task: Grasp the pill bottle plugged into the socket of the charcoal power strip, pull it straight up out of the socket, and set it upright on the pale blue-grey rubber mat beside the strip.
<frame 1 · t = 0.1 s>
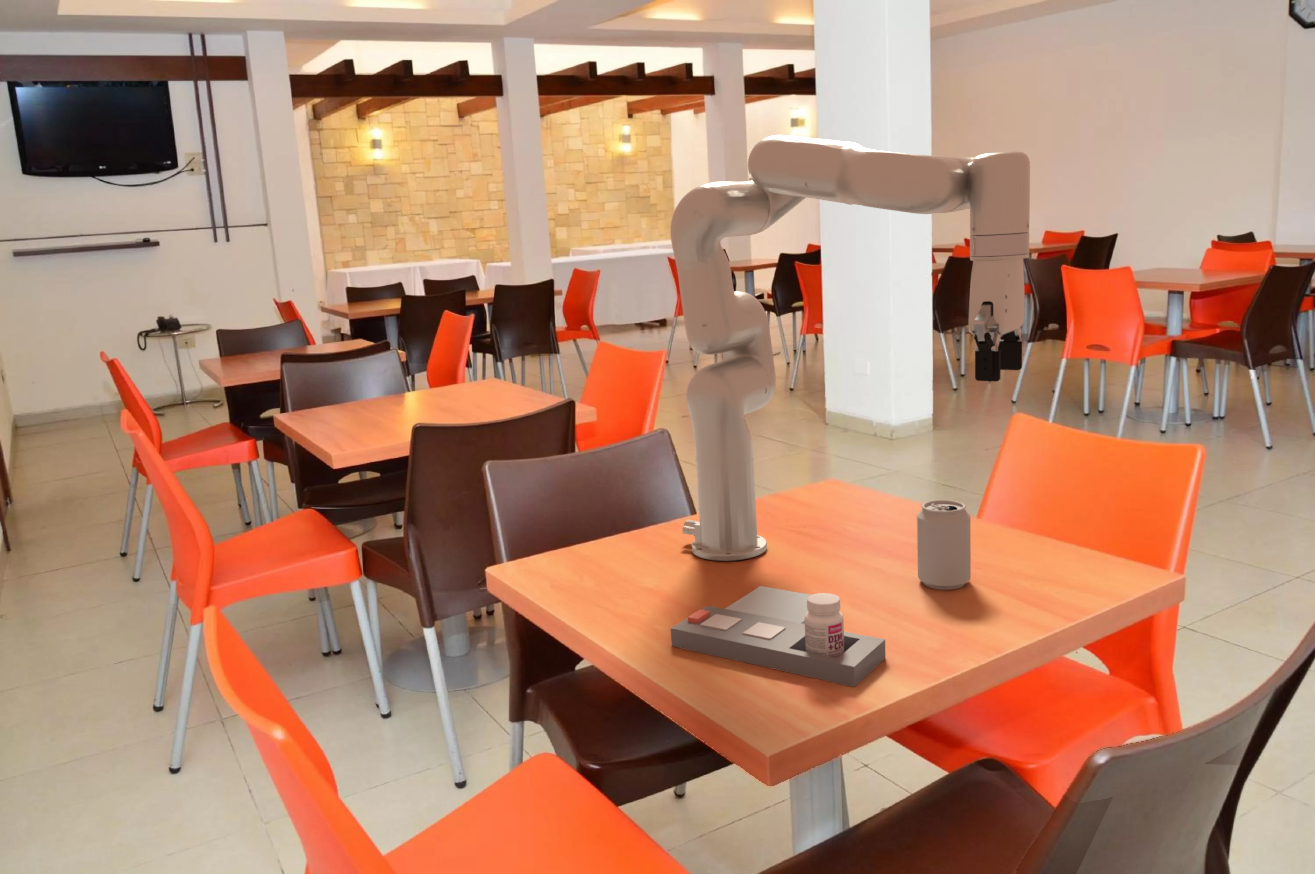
hand: (999, 375, 142), 31 cm above the table, fingers open, 9 cm apart
can: (944, 583, 153), on the table
pill bottle: (825, 664, 128), resting in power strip
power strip: (775, 651, 132), on the table
mat: (776, 609, 147), on the table
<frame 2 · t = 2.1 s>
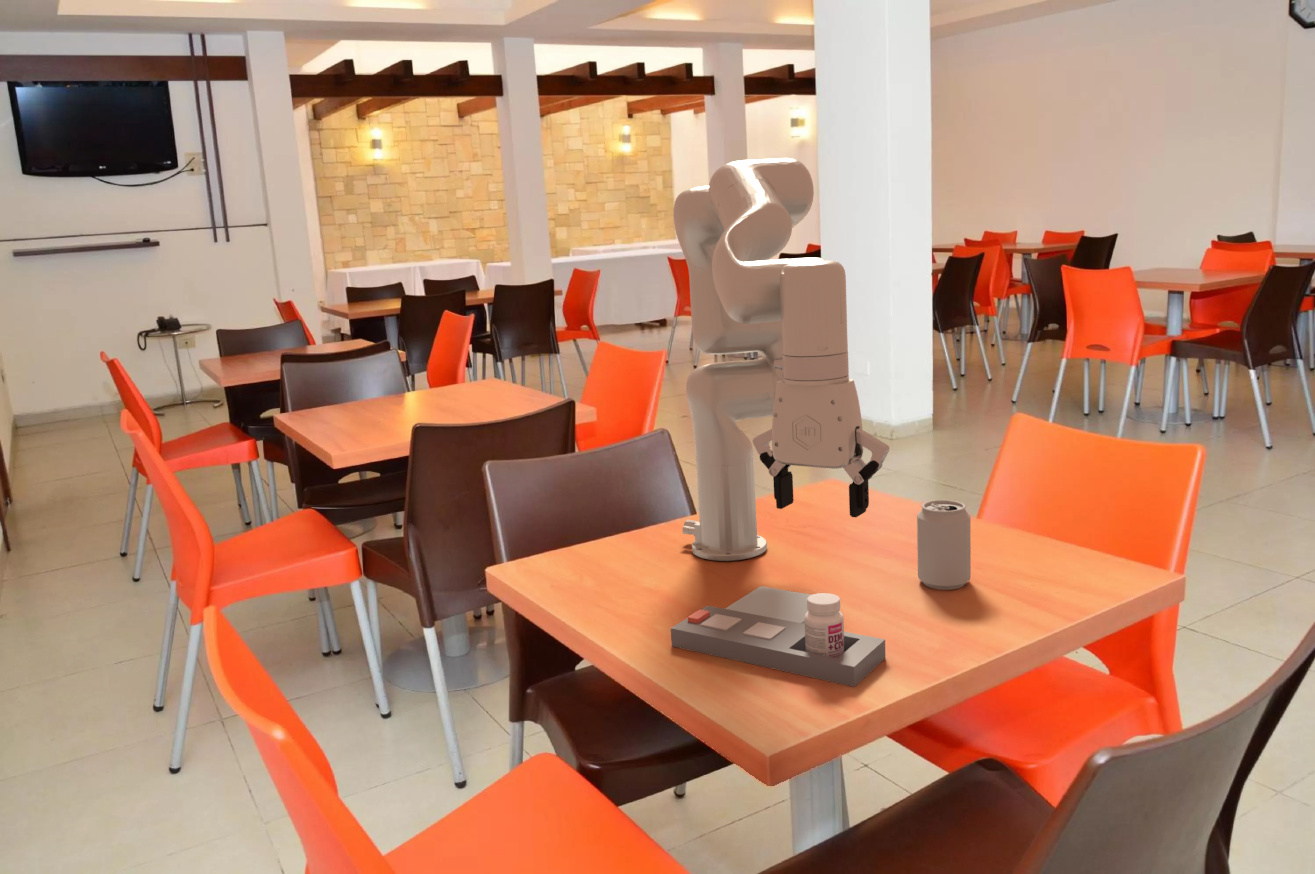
hand: (820, 510, 124), 20 cm above the table, fingers open, 9 cm apart
nothing on the table moved.
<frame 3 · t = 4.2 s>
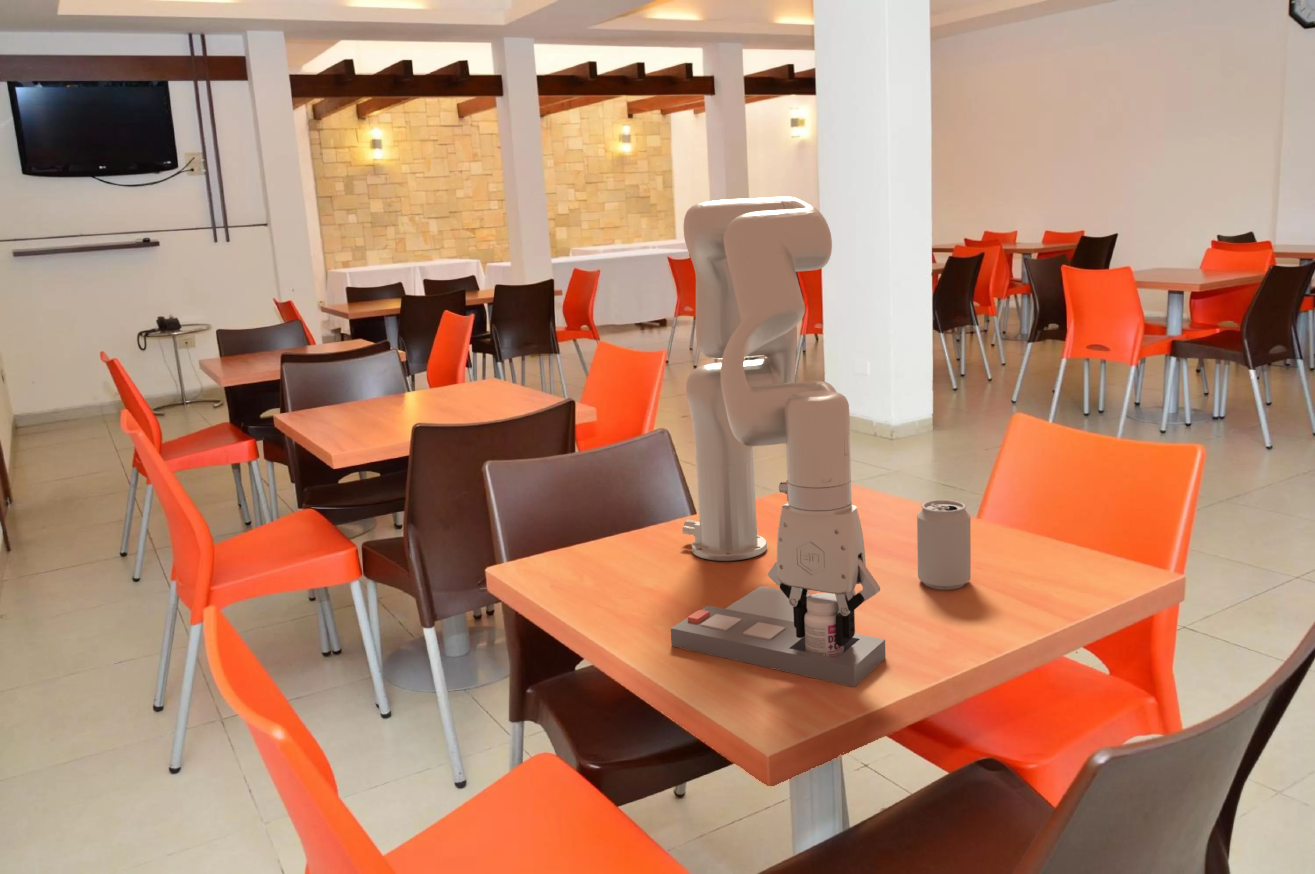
hand: (824, 636, 127), 3 cm above the table, fingers closed on pill bottle, 4 cm apart
pill bottle: (825, 664, 128), resting in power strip, touching gripper
everything else where it was.
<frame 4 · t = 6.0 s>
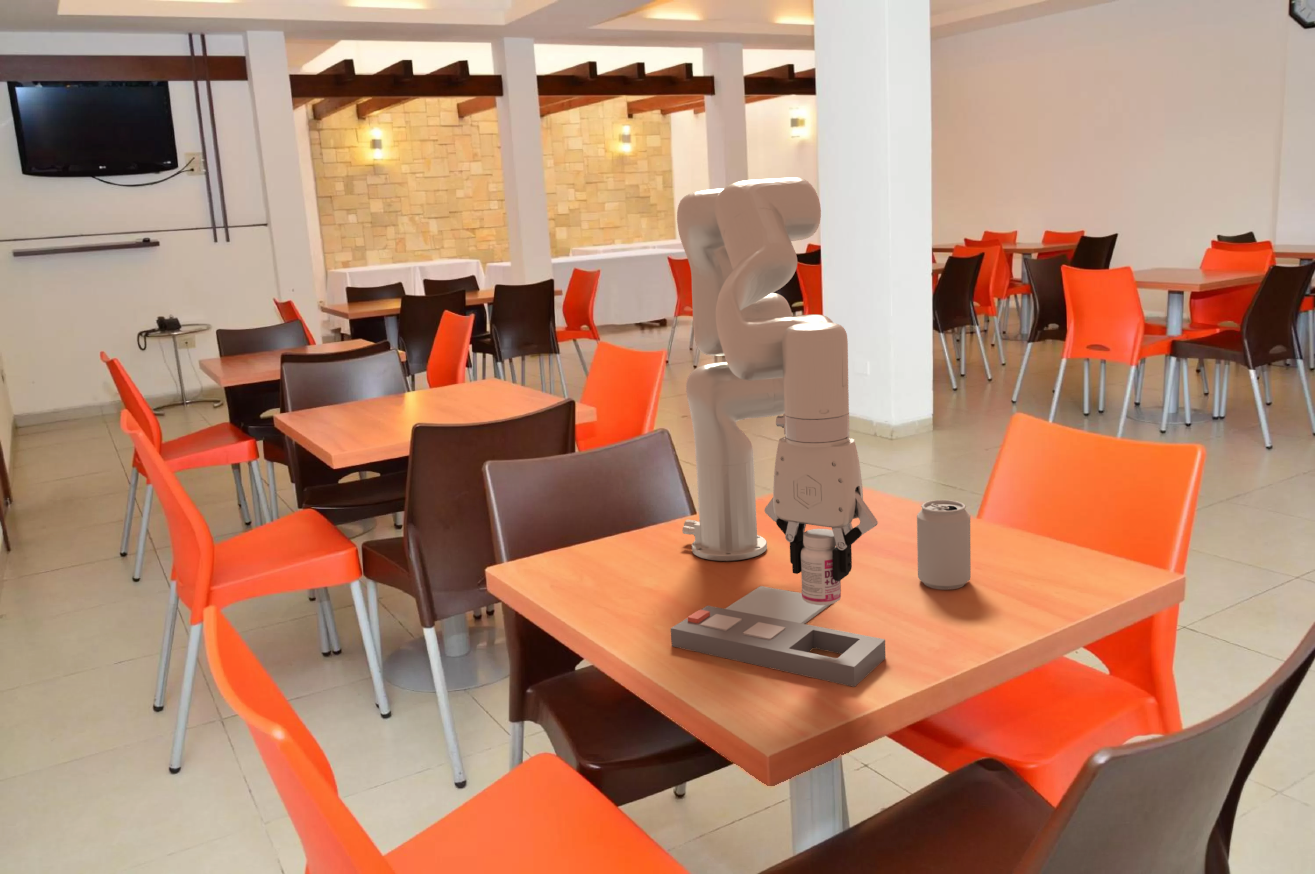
hand: (820, 572, 126), 12 cm above the table, fingers closed on pill bottle, 4 cm apart
pill bottle: (821, 600, 127), point 8 cm above the table, touching gripper
everything else where it was.
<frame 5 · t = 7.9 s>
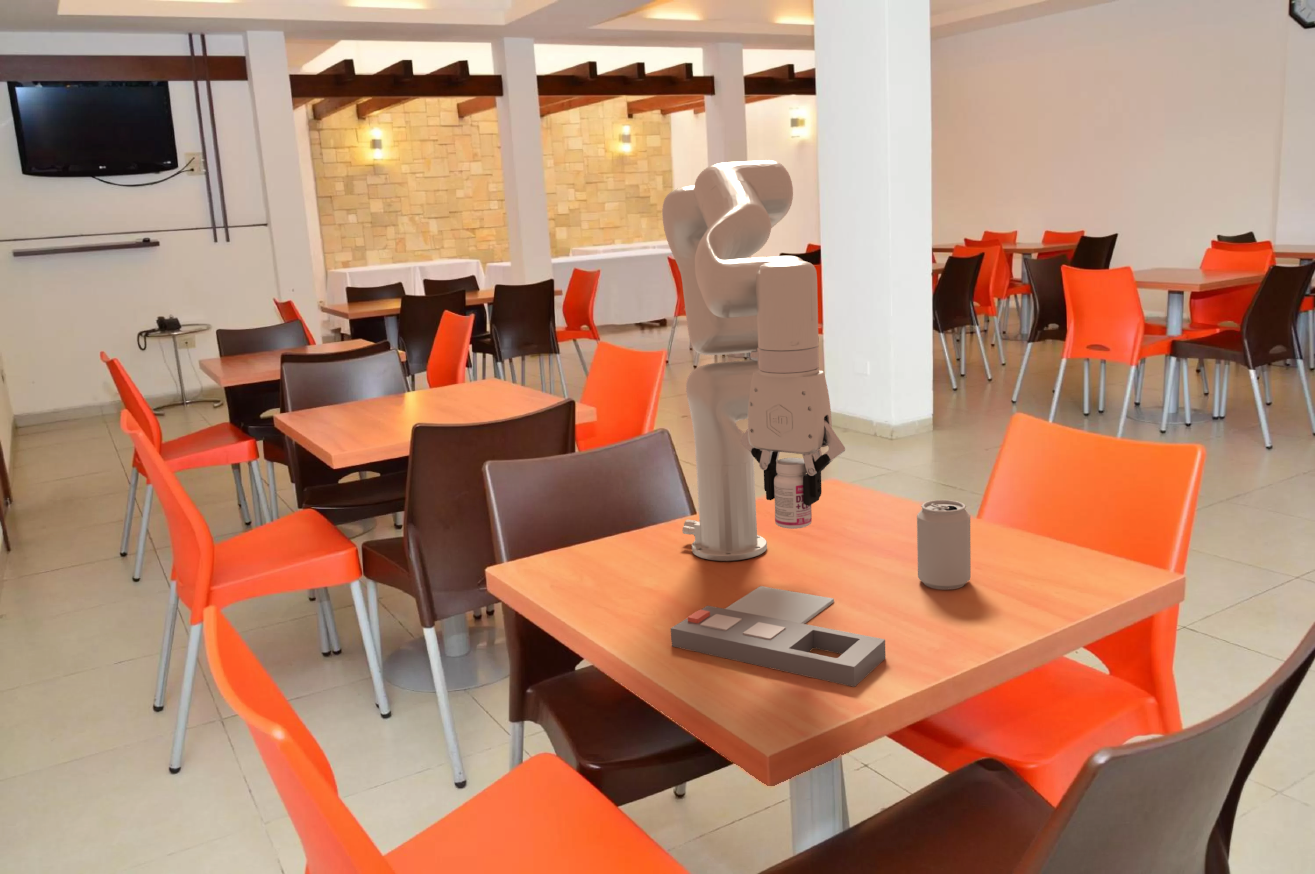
hand: (792, 498, 134), 18 cm above the table, fingers closed on pill bottle, 4 cm apart
pill bottle: (793, 525, 135), point 15 cm above the table, touching gripper
everything else where it was.
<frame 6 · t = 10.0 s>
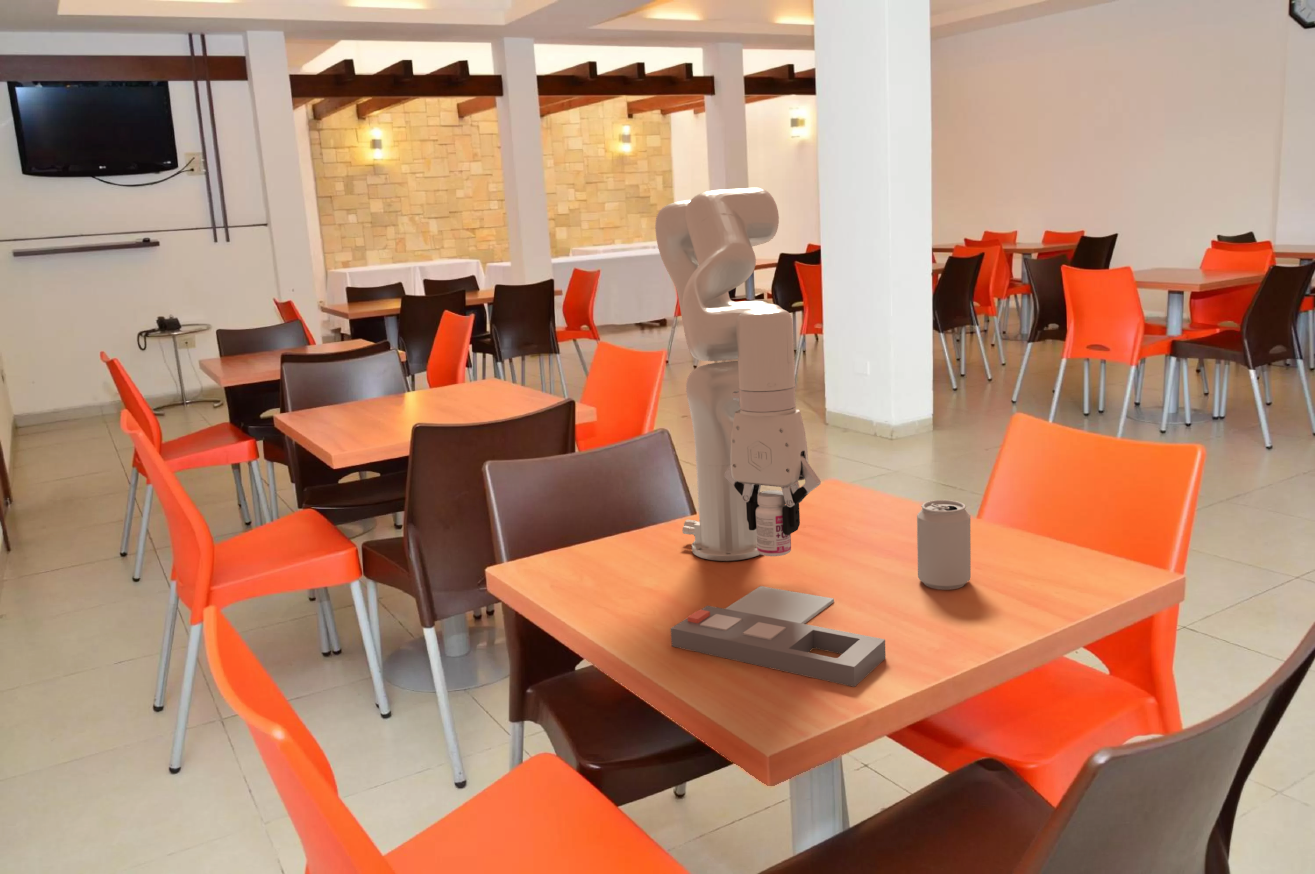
hand: (773, 528, 144), 12 cm above the table, fingers closed on pill bottle, 4 cm apart
pill bottle: (774, 553, 145), point 8 cm above the table, touching gripper
everything else where it was.
when the fingers open (5 cm above the table, at t = 11.6 s): pill bottle drops 1 cm, resting on mat.
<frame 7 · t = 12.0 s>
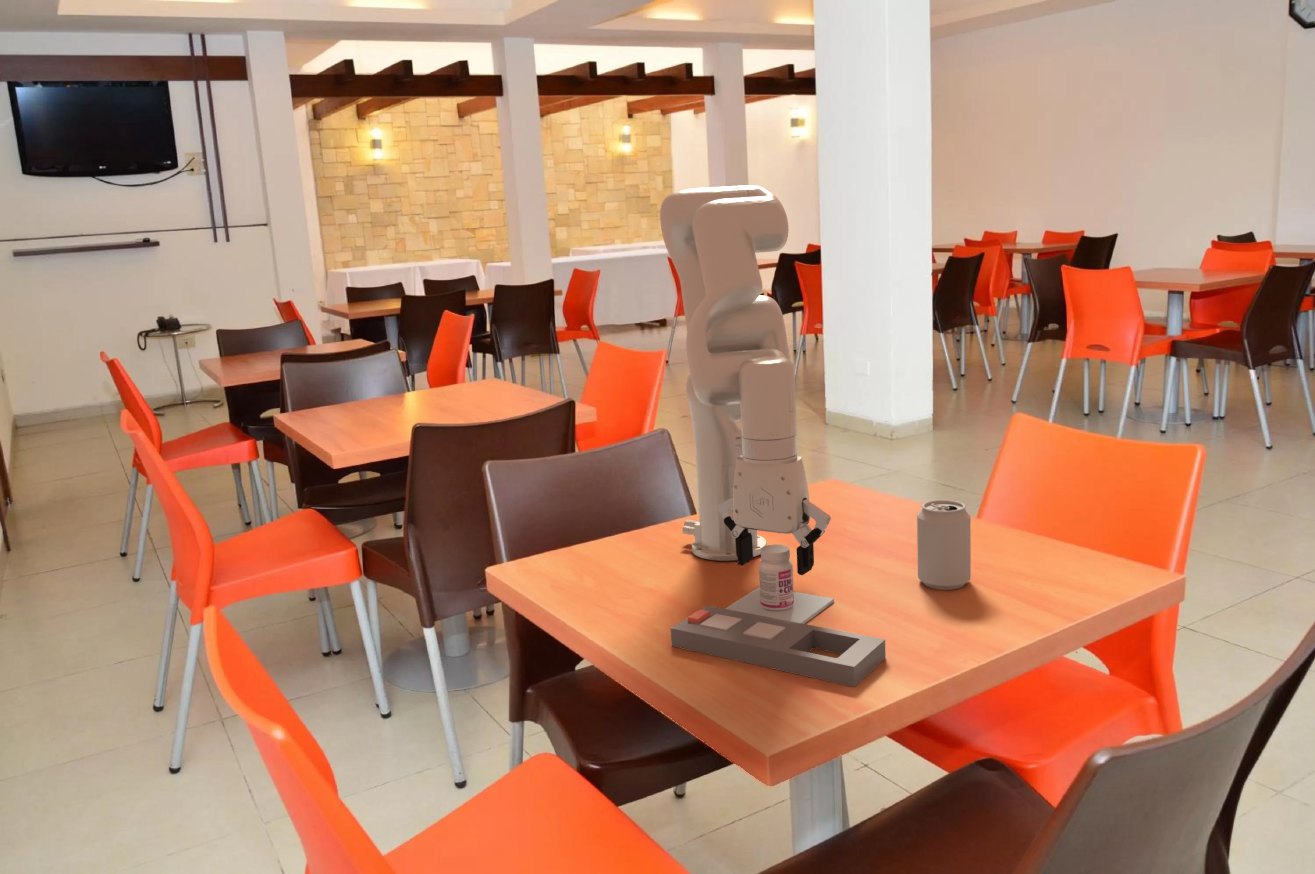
hand: (774, 567, 145), 6 cm above the table, fingers open, 9 cm apart
pill bottle: (777, 606, 147), resting on mat
everything else where it was.
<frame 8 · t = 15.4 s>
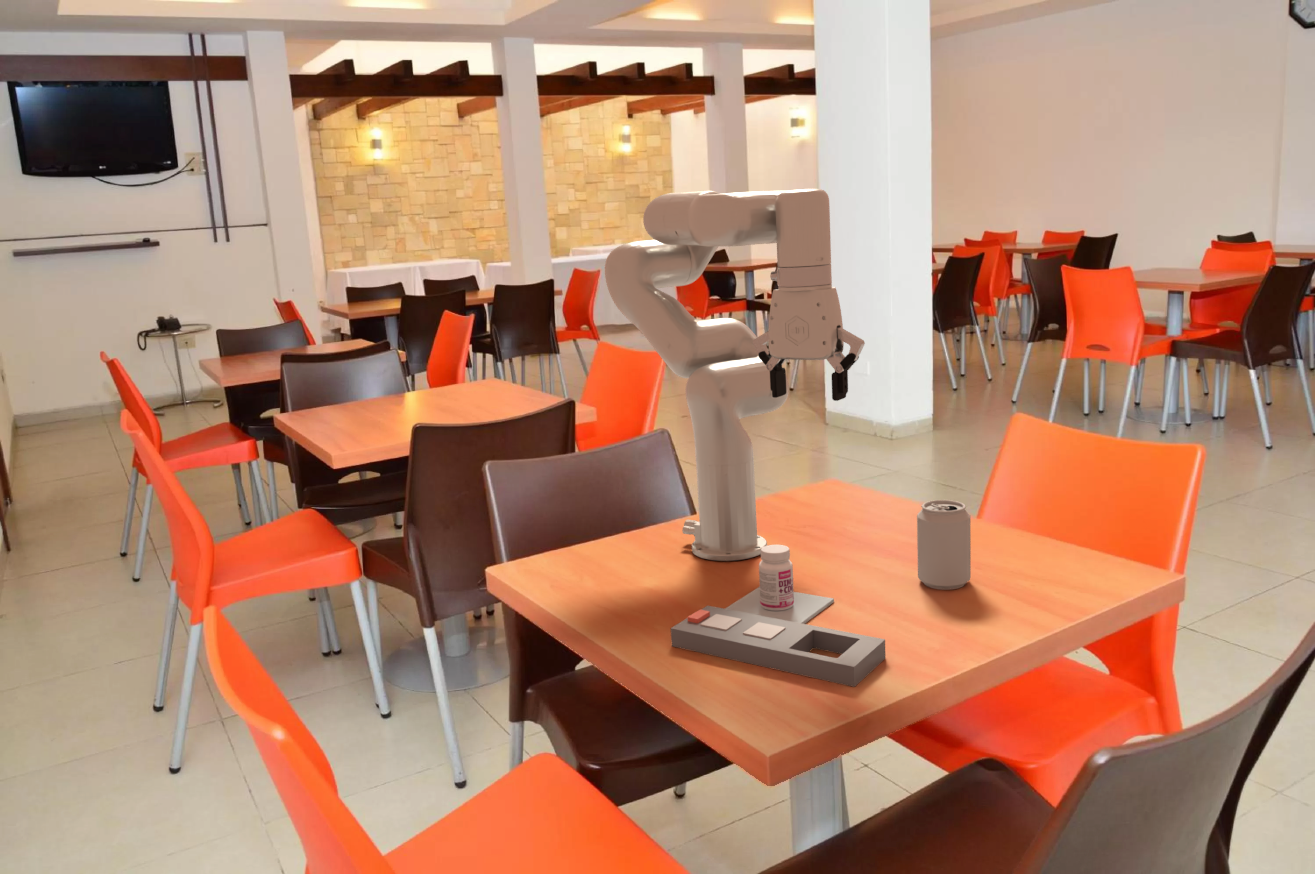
hand: (808, 397, 150), 28 cm above the table, fingers open, 9 cm apart
nothing on the table moved.
at the end: pill bottle inside the target area on the mat (0.1 cm from its centre), point 0.3 cm above the mat's base; pill bottle tilted 0°; the gripper is holding nothing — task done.
